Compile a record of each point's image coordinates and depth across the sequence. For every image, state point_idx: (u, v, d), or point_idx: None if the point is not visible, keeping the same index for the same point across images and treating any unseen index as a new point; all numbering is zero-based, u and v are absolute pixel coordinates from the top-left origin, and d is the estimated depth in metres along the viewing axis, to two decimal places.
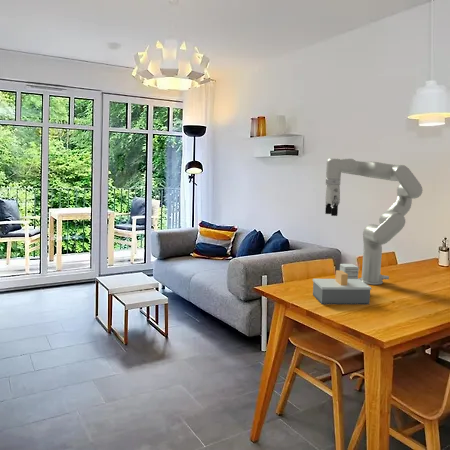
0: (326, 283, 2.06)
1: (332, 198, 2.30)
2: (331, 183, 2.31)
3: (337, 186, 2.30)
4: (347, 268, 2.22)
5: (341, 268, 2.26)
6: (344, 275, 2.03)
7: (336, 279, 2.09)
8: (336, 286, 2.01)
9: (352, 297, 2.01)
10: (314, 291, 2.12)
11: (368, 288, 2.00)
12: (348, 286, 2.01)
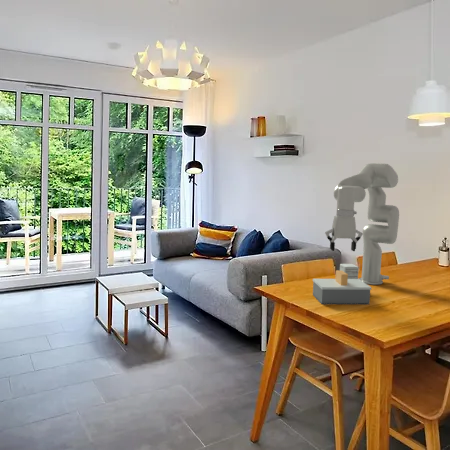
0: (326, 283, 2.06)
1: (355, 231, 2.03)
2: (353, 215, 2.02)
3: None
4: (347, 268, 2.22)
5: (341, 268, 2.26)
6: (344, 275, 2.03)
7: (336, 279, 2.09)
8: (336, 286, 2.01)
9: (352, 297, 2.01)
10: (314, 291, 2.12)
11: (368, 288, 2.00)
12: (348, 286, 2.01)
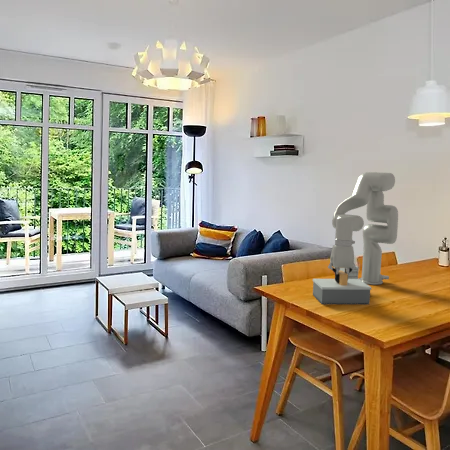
0: (326, 283, 2.06)
1: None
2: (351, 245, 2.03)
3: None
4: None
5: (341, 268, 2.26)
6: (344, 275, 2.03)
7: None
8: (336, 286, 2.01)
9: (352, 297, 2.01)
10: (314, 291, 2.12)
11: (368, 288, 2.00)
12: (348, 286, 2.01)
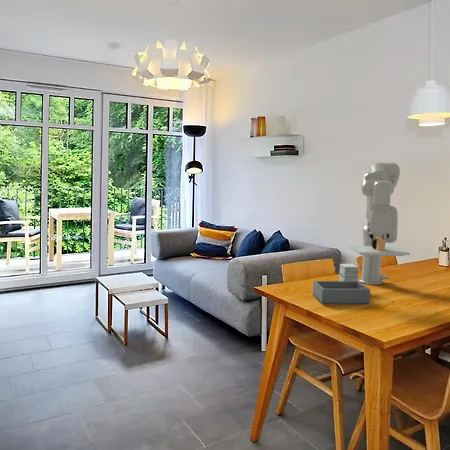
0: (363, 249, 2.03)
1: None
2: (389, 210, 2.01)
3: None
4: (347, 268, 2.22)
5: (341, 268, 2.26)
6: (381, 241, 2.00)
7: None
8: (373, 251, 1.98)
9: (352, 297, 2.01)
10: (314, 291, 2.12)
11: (406, 253, 1.97)
12: (386, 251, 1.99)
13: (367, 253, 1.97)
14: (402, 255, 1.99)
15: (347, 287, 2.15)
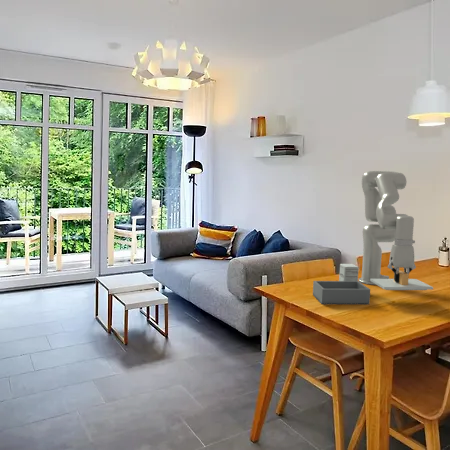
0: (386, 283, 2.04)
1: None
2: (412, 244, 2.02)
3: None
4: (347, 268, 2.22)
5: (341, 268, 2.26)
6: (405, 275, 2.01)
7: None
8: (397, 286, 1.99)
9: (352, 297, 2.01)
10: (314, 291, 2.12)
11: (430, 288, 1.99)
12: (409, 286, 2.00)
13: (392, 288, 1.98)
14: (425, 289, 2.01)
15: (347, 287, 2.15)
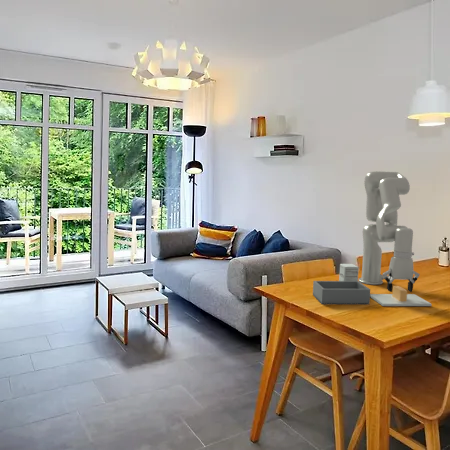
0: (385, 299, 2.05)
1: (413, 273, 2.04)
2: (411, 256, 2.03)
3: None
4: (347, 268, 2.22)
5: (341, 268, 2.26)
6: (403, 291, 2.03)
7: (394, 295, 2.09)
8: (396, 302, 2.01)
9: (352, 297, 2.01)
10: (314, 291, 2.12)
11: (428, 304, 2.00)
12: (408, 302, 2.01)
13: (390, 304, 1.99)
14: None
15: (347, 287, 2.15)
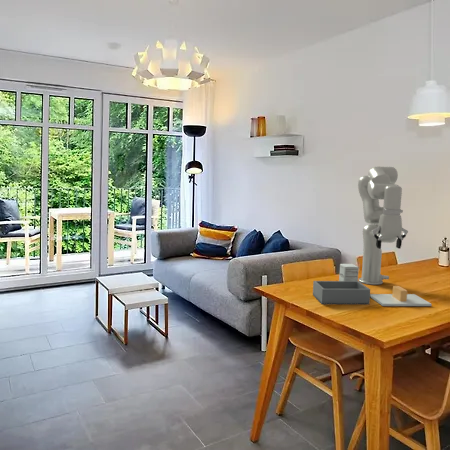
0: (385, 299, 2.05)
1: (401, 230, 2.08)
2: (399, 213, 2.06)
3: None
4: (347, 268, 2.22)
5: (341, 268, 2.26)
6: (403, 291, 2.03)
7: (394, 295, 2.09)
8: (396, 302, 2.01)
9: (352, 297, 2.01)
10: (314, 291, 2.12)
11: (428, 304, 2.00)
12: (408, 302, 2.01)
13: (390, 305, 1.99)
14: None
15: (347, 287, 2.15)
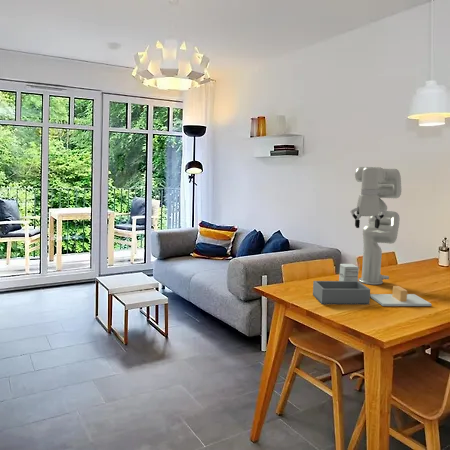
0: (385, 299, 2.05)
1: (379, 210, 2.16)
2: (377, 194, 2.15)
3: None
4: (347, 268, 2.22)
5: (341, 268, 2.26)
6: (403, 291, 2.03)
7: (394, 295, 2.09)
8: (396, 302, 2.01)
9: (352, 297, 2.01)
10: (314, 291, 2.12)
11: (428, 304, 2.00)
12: (408, 302, 2.01)
13: (390, 305, 1.99)
14: None
15: (347, 287, 2.15)
